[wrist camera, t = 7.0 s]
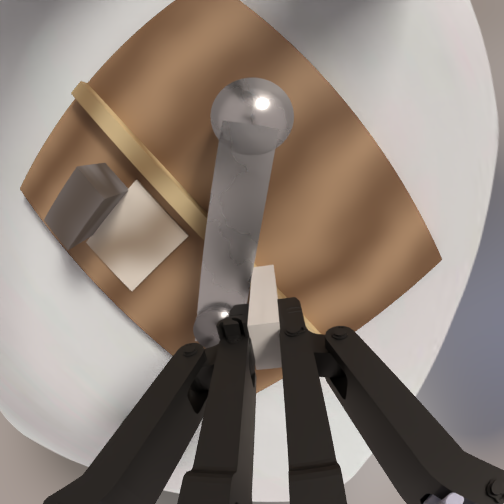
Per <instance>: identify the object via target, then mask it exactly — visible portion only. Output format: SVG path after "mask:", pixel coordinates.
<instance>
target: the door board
mask: <svg viewBox="0 0 504 504" xmlns="http://www.w3.org/2000/svg"><path fill="white" fill-rule="evenodd" d="M243 78H261V79H265V80H268V81H271V82H273V83H274V84H276V85H277V86H279V87H280V88H281V89H282V90H283V91H284V92H285V93H286V94H287V96H288V97H289V99H290V101H291V103H292V106H293V111H294V122H293V127H292V129H291V132H290V134H289V136H288V137H287V139H286V140H285V141H284V142H283V143H282V144H281V145H280V146H279V147H277V148H276V149H275V153H274V158H273V164H272V170H271V175H270V181H269V186H268V192H267V197H266V202H265V208H264V213H263V219H262V224H261V230H260V235H259V241H258V246H257V251H256V257H255V262H254V267H259V266H267V265H274V272H275V279H276V287H277V294H278V299H283V298H290V297H296V298H297V299H298V300H299V301H300V304H301V308H302V312H303V316H304V321H305V325H306V327H307V329H308V330H309V331H310V332H312V333H315V334H326V331H327V330H328V329H330V328H332V327H335V326H346V327H350V328H351V329H352V330H354V331H357V330H358V329H359V328H361V327H362V326H363V325H365V324H366V323H367V322H369V321H370V320H371V319H373V318H374V317H375V316H377V315H378V314H379V313H381V312H382V311H383V310H384V309H386V308H387V307H388V306H389V305H391V304H392V303H393V302H394V301H396V300H397V299H398V298H399V297H400V296H402V295H403V294H404V293H405V292H406V291H408V290H409V289H410V288H411V287H412V286H414V285H415V284H416V283H417V282H418V281H419V280H420V279H422V278H423V277H424V276H425V275H426V274H427V273H428V272H429V271H430V270H431V269H433V268H434V267H435V266H436V265H437V264H438V263H439V262H440V261H441V260H442V258H441V256H440V253H439V251H438V249H437V247H436V245H435V242H434V240H433V238H432V236H431V234H430V232H429V230H428V228H427V226H426V224H425V222H424V220H423V218H422V216H421V215H420V213H419V211H418V209H417V207H416V205H415V204H414V202H413V200H412V198H411V196H410V195H409V193H408V191H407V190H406V188H405V186H404V185H403V183H402V181H401V180H400V178H399V176H398V175H397V173H396V172H395V170H394V168H393V167H392V165H391V164H390V162H389V161H388V159H387V158H386V156H385V155H384V153H383V152H382V150H381V149H380V147H379V146H378V144H377V143H376V142H375V140H374V139H373V137H372V136H371V135H370V133H369V132H368V130H367V129H366V128H365V126H364V125H363V124H362V122H361V121H360V120H359V119H358V117H357V116H356V115H355V113H354V112H353V111H352V110H351V108H350V107H349V106H348V105H347V103H346V102H345V101H344V100H343V99H342V97H341V96H340V95H339V94H338V93H337V92H336V90H335V89H334V88H333V87H332V86H331V85H330V84H329V82H328V81H327V80H326V79H325V78H324V77H323V76H322V75H321V74H320V73H319V71H318V70H317V69H316V68H315V67H314V66H313V65H312V64H311V63H310V62H309V61H308V60H307V59H306V58H305V57H304V56H303V55H302V54H301V53H300V52H299V51H298V50H297V49H296V48H295V47H294V46H293V45H292V44H291V43H290V42H289V41H287V40H286V39H285V38H284V37H283V36H282V35H281V34H280V33H279V32H278V31H276V30H275V29H274V28H273V27H272V26H271V25H270V24H268V23H267V22H266V21H265V20H264V19H262V18H261V17H260V16H259V15H258V14H256V13H255V12H254V11H252V10H251V9H250V8H249V7H247V6H246V5H245V4H243V3H242V2H241V1H239V0H175V1H174V2H172V3H171V4H170V5H168V6H167V7H166V8H164V9H163V10H162V11H161V12H159V13H158V14H157V15H156V16H154V17H153V18H152V19H151V20H150V21H148V22H147V23H146V24H145V25H144V26H143V27H142V28H140V29H139V30H138V31H137V32H136V33H135V34H134V35H133V36H132V37H131V38H129V39H128V40H127V41H126V42H125V43H124V44H123V45H122V46H121V47H120V48H119V49H118V50H117V51H116V52H115V53H114V54H113V55H112V56H111V57H110V58H109V59H108V61H107V62H106V63H105V64H104V65H103V66H102V67H101V68H100V69H99V70H98V72H97V73H96V74H95V75H94V76H93V77H92V78H91V80H90V81H89V82H88V83H85V82H82V81H80V83H79V84H78V85H77V86H76V88H75V89H74V90H73V92H72V93H71V94H72V95H73V96H74V97H75V100H74V101H73V102H72V104H71V105H70V106H69V108H68V109H67V110H66V112H65V113H64V115H63V116H62V117H61V119H60V120H59V122H58V123H57V125H56V126H55V128H54V129H53V131H52V132H51V134H50V135H49V137H48V139H47V140H46V142H45V143H44V145H43V147H42V148H41V150H40V152H39V153H38V155H37V157H36V159H35V161H34V162H33V164H32V166H31V168H30V170H29V172H28V174H27V175H26V177H25V179H24V181H23V183H22V185H21V187H20V190H21V191H22V193H23V194H24V196H25V197H26V199H27V200H28V201H29V203H30V204H31V206H32V207H33V209H34V210H35V211H36V213H37V214H38V215H39V217H40V218H41V220H42V221H43V222H44V223H45V225H46V226H47V227H48V229H49V230H50V231H51V233H52V234H53V235H54V236H55V238H56V239H57V240H58V241H59V243H60V244H61V245H62V246H63V247H64V249H65V250H66V251H67V252H68V253H69V255H70V256H71V257H72V258H73V259H74V260H75V262H76V263H77V264H78V265H79V266H80V267H81V268H82V269H83V271H84V272H85V273H86V274H87V275H88V276H89V277H90V278H91V279H92V280H93V281H94V283H95V284H96V285H97V286H98V287H99V288H100V289H101V290H102V291H103V292H104V293H105V294H106V295H107V296H108V297H109V298H110V299H111V300H112V301H113V302H114V303H115V304H116V305H117V306H118V307H119V308H120V309H121V310H122V311H123V312H124V313H125V314H126V315H127V316H128V317H129V318H130V319H131V320H133V321H134V322H135V323H136V324H137V325H138V326H139V327H140V328H141V329H142V330H143V331H145V332H146V333H147V334H148V335H149V336H150V337H151V338H152V339H154V340H155V341H156V342H157V343H158V344H159V345H161V346H162V347H163V348H164V349H165V350H166V351H168V352H169V353H170V354H171V355H172V356H173V355H174V354H175V353H176V352H177V350H178V349H179V348H180V347H182V346H183V345H185V344H189V343H198V344H200V343H199V342H198V341H195V336H194V333H193V326H194V323H195V320H196V317H197V310H198V299H199V288H200V278H201V268H202V259H203V250H204V242H205V233H206V225H207V217H208V210H209V202H210V195H211V188H212V181H213V175H214V168H215V162H216V155H217V149H218V143H219V139H218V138H217V137H216V135H215V133H214V131H213V128H212V125H211V108H212V105H213V102H214V100H215V98H216V96H217V95H218V94H219V92H220V91H221V90H222V89H223V88H224V87H226V86H227V85H229V84H230V83H232V82H234V81H236V80H239V79H243ZM250 289H251V284H250ZM250 289H249V294H248V300H247V303H249V301H250ZM204 349H206V348H205V347H204ZM255 372H256V377H257V380H256V393H257V392H259V391H261V390H263V389H265V388H267V387H268V386H270V385H272V384H274V383H276V382H277V381H279V380H281V379H283V375H282V367H280V368H272V369H262V370H256V365H255Z"/></svg>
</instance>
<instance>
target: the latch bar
mask: <svg viewBox="0 0 504 504" xmlns="http://www.w3.org/2000/svg"><path fill="white" fill-rule="evenodd" d="M293 122H294V111H293V106H292V103H291V101H290V99H289V97H288V96H287V94H286V93H285V92H284V91H283V90H282V89H281V88H280V87H279V86H277V85H276V84H274V83H273V82H271V81H268V80H265V79H261V78H243V79H239V80H236V81H234V82H232V83H230V84H229V85H227V86H226V87H224V88H223V89H222V90H221V91H220V92H219V94H218V95H217V96H216V98H215V100H214V102H213V105H212V108H211V125H212V128H213V131H214V133H215V135H216V137H217V138H218V139H219V143H218V149H217V155H216V162H215V168H214V175H213V181H212V188H211V195H210V202H209V210H208V217H207V225H206V233H205V242H204V250H203V259H202V268H201V278H200V288H199V299H198V310H197V317H196V320H195V323H194V326H193V333H194V336H195V341H198V342H199V343H200V344H201V345H202V346H203V347H205V348H209V347H213V346H215V345H217V344H219V342H220V339H219V335H218V331H217V327H216V325H217V323H218V322H219V321H220V320H222V319H224V318H226V317H229V313H230V310H231V309H232V307H233V306H234V305H239V304H247V300H248V294H249V289H250V284H251V277H252V273H253V268H254V262H255V257H256V251H257V246H258V241H259V235H260V230H261V224H262V219H263V213H264V208H265V202H266V197H267V192H268V186H269V181H270V175H271V170H272V164H273V158H274V153H275V149H276V148H277V147H279V146H280V145H281V144H282V143H283V142H284V141H285V140H286V139H287V137H288V136H289V134H290V132H291V129H292V127H293Z"/></svg>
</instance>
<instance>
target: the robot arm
mask: <svg viewBox="0 0 504 504" xmlns="http://www.w3.org/2000/svg"><path fill="white" fill-rule="evenodd" d="M216 327H217V331H218V335H219V339H220V342H219V344H217V345H215V346H213V347H209V348H206V349H204V347H203V346H202V345H201V344H198V343H189V344H185V345H183V346H182V347H180V348H179V349H178V350H177V352H176V353H175V354H174V355H173V357H172V358H171V359H170V361H169V362H168V363H167V365H166V366H165V367H164V369H163V370H162V371H161V373H160V374H159V375H158V377H157V378H156V379H155V381H154V382H153V383H152V384H151V386H150V387H149V388H148V390H147V391H146V392H145V394H144V395H143V396H142V398H141V399H140V400H139V402H138V403H137V404H136V406H135V407H134V408H133V410H132V411H131V412H130V414H129V415H128V416H127V417H126V419H125V420H124V421H123V423H122V424H121V425H120V427H119V428H118V429H117V431H116V432H115V433H114V435H113V436H112V437H111V439H110V440H109V441H108V443H107V444H106V445H105V446H104V448H103V449H102V450H101V452H100V453H99V454H98V456H97V457H96V458H95V460H94V461H93V462H92V464H91V465H90V466H89V468H88V469H87V470H86V472H85V473H84V474H83V475H82V476H81V477H79V478H78V479H76V480H75V481H73V482H72V483H70V484H68V485H67V486H65V487H64V488H62V489H61V490H59V491H57V492H56V493H54V494H53V495H51V496H49V497H48V498H47V499H46V500H45V501H44V503H43V504H155V503H156V501H157V499H158V498H159V496H160V494H161V492H162V491H163V489H164V487H165V486H166V484H167V482H168V480H169V479H170V477H171V475H172V473H173V471H174V470H175V468H176V466H177V464H178V463H179V461H180V459H181V457H182V455H183V453H184V452H185V450H186V448H187V446H188V444H189V443H190V441H191V439H192V437H193V435H194V433H195V431H196V430H197V428H198V426H199V424H200V422H201V420H202V418H203V421H202V426H201V431H200V435H199V440H198V445H197V450H196V455H195V460H194V465H193V468H192V470H191V471H188V472H186V473H185V475H184V477H183V480H182V485H181V489H180V494H179V499H178V503H177V504H252V478H253V455H254V432H255V407H256V380H257V377H256V372H255V365H256V370H262V369H272V368H280V367H282V375H283V388H284V401H285V415H286V430H287V445H288V462H289V494H290V504H347V501H346V495H345V489H344V483H343V478H342V473H341V468H340V466H339V464H338V463H337V461H336V457H335V451H334V446H333V441H332V436H331V431H330V426H329V421H328V416H327V411H326V406H325V402H324V397H323V392H322V388H321V383H320V379H319V377H325V378H326V381H327V383H328V384H329V386H330V387H331V389H332V391H333V392H334V394H335V395H336V397H337V398H338V400H339V401H340V403H341V405H342V406H343V408H344V409H345V411H346V412H347V414H348V416H349V417H350V419H351V420H352V422H353V423H354V425H355V426H356V428H357V430H358V431H359V433H360V434H361V436H362V437H363V439H364V440H365V442H366V444H367V445H368V447H369V448H370V450H371V451H372V453H373V454H374V456H375V457H376V459H377V461H378V462H379V464H380V465H381V467H382V468H383V470H384V471H385V473H386V474H387V476H388V477H389V479H390V481H391V482H392V484H393V485H394V487H395V488H396V490H397V491H398V493H399V494H400V496H401V497H402V498H403V499H404V501H405V502H406V503H407V504H503V503H504V470H502V469H500V468H498V467H495V466H493V465H491V464H489V463H487V462H485V461H483V460H480V459H478V458H476V457H474V456H472V455H470V454H468V453H466V452H464V451H463V450H462V449H461V447H460V446H459V445H458V444H457V443H456V442H455V441H454V439H453V438H452V437H451V436H450V435H449V434H448V433H447V432H446V431H445V429H444V428H443V427H442V426H441V425H440V424H439V423H438V421H437V420H436V419H435V418H434V417H433V416H432V415H431V414H430V413H429V412H428V410H427V409H426V408H425V407H424V406H423V405H422V404H421V403H420V401H419V400H418V399H417V398H416V397H415V396H414V395H413V394H412V393H411V392H410V390H409V389H408V388H407V387H406V386H405V385H404V384H403V383H402V382H401V381H400V380H399V379H398V377H397V376H396V375H395V374H394V373H393V372H392V371H391V370H390V369H389V368H388V367H387V366H386V364H385V363H384V362H383V361H382V360H381V359H380V358H379V357H378V356H377V355H376V354H375V353H374V352H373V351H372V350H371V348H370V347H369V346H368V345H367V344H366V343H365V342H364V341H363V340H362V339H361V338H360V337H359V336H358V335H357V334H356V333H355V331H354V330H352V329H351V328H350V327H346V326H335V327H332V328H330V329H328V330H327V331H326V334H315V333H312V332H310V331H309V330H308V329H307V327H306V325H305V321H304V316H303V312H302V308H301V304H300V301H299V300H298V299H297V298H296V297H290V298H283V299H278V294H277V287H276V279H275V272H274V265H267V266H259V267H254V268H253V273H252V277H251V289H250V301H249V303H247V304H239V305H234V306H233V307H232V309H231V310H230V313H229V317H226V318H224V319H222V320H220V321H219V322H218V323H217V325H216Z"/></svg>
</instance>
